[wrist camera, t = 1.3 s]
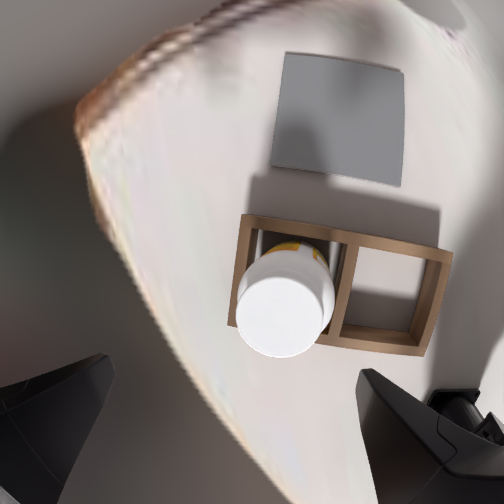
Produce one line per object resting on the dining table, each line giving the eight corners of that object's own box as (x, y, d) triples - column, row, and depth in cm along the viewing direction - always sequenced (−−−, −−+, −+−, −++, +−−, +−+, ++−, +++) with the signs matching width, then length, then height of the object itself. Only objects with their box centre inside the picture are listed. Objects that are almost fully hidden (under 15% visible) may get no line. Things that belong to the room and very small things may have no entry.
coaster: (401, 76, 17) (403, 73, 17) (398, 187, 19) (400, 186, 18) (285, 57, 19) (284, 54, 19) (271, 165, 21) (269, 164, 20)
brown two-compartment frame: (438, 248, 19) (453, 252, 16) (413, 341, 20) (423, 356, 17) (250, 214, 22) (241, 214, 19) (237, 312, 23) (227, 325, 20)
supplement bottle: (250, 291, 22) (205, 342, 13) (275, 228, 21) (243, 239, 12) (311, 318, 22) (306, 386, 12) (340, 256, 20) (360, 289, 11)
